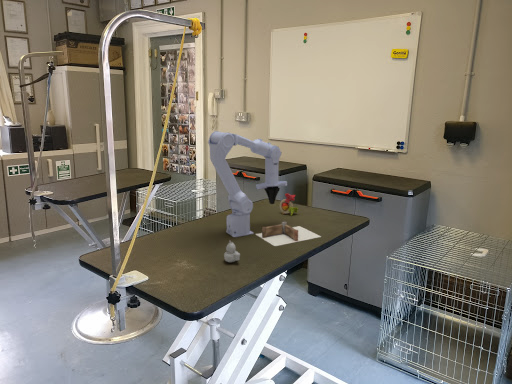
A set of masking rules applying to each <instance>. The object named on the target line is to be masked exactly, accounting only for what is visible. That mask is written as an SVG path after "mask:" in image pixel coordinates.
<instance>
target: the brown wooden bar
mask: <svg viewBox="0 0 512 384" xmlns="http://www.w3.org/2000/svg"><path fill="white" fill-rule="evenodd" d="M292 227H293V226H291V225H288V224H287V225H285V234H286V235H288V236H290V237H291V238H293V239H294V240H298V230H296V229H294V228H292Z"/></svg>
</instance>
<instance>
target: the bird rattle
mask: <svg viewBox="0 0 512 384" xmlns="http://www.w3.org/2000/svg"><path fill="white" fill-rule="evenodd" d="M284 196H285V198H284V199H282V200H281V201H280V203H279V210H280V211H281V214H282V215H285V214H290V216H291V217H292V216H293V214H294V213H298V212H299V211H298V210H299V208H298V207H297V206H296V207H295V206H294V204H293V202H295V200H296V199H295V197H296V194H290V193H284Z"/></svg>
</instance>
